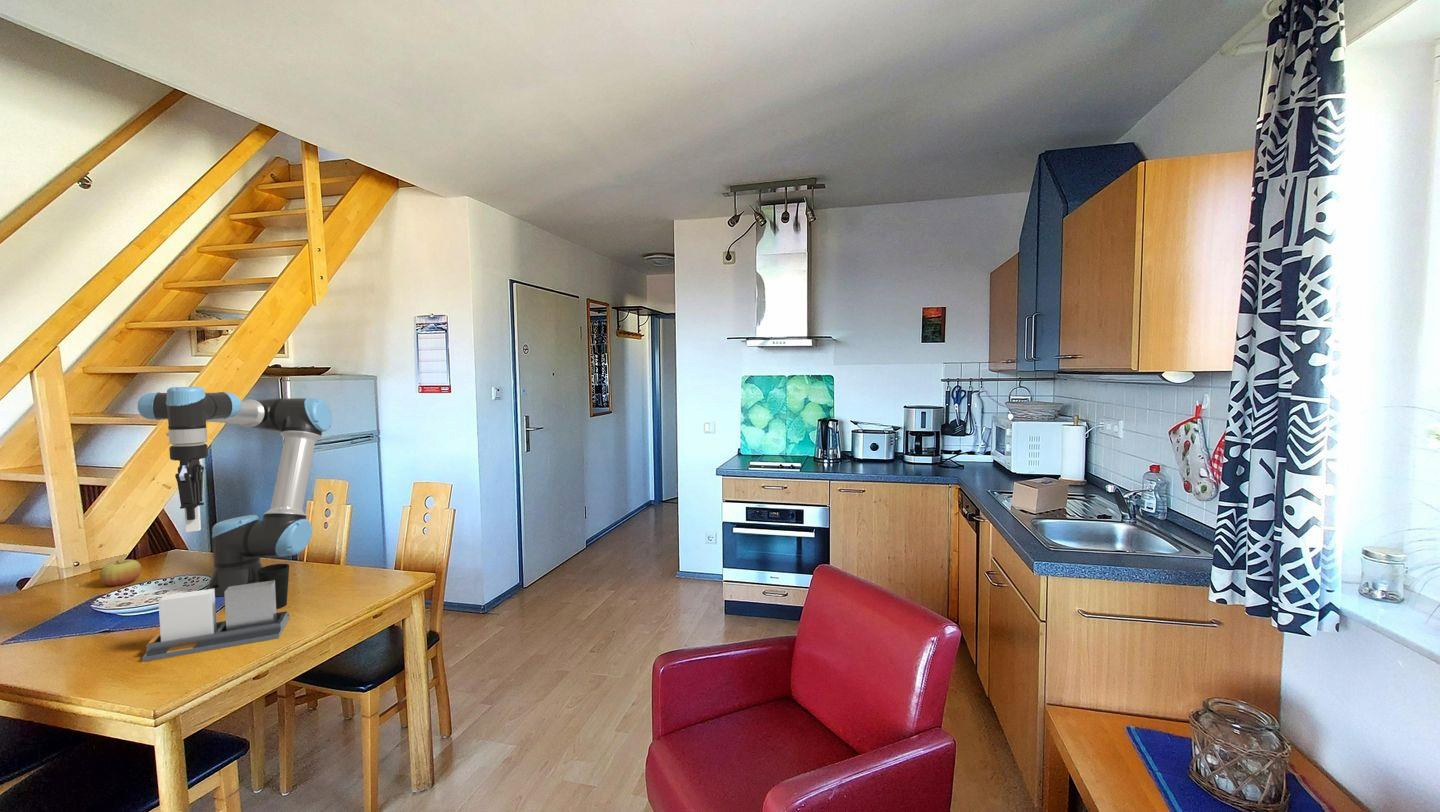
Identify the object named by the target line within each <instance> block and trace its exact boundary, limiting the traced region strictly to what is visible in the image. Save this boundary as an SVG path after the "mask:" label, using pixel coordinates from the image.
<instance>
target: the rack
mask: <svg viewBox="0 0 1440 812" xmlns="http://www.w3.org/2000/svg"><path fill="white" fill-rule="evenodd" d="M224 594H225V596H224V608H225V610H224V611H225V620H222V621H216V625H217V631H216V632H215V633H212V634H206V635H200V636H194V637H188V638H181V639H175V640H169V641H163V642H161V634H160V631H158V633H156V634H155V635H154V636H153V637H152V639H151V640H149V641H148V643H147V644H146V645H145V648H146V650H145V651H146V653H145V654H144V655H143V656H142V657H141V659H142V663H143V662H151V661H155V660H156V661H157V660H162V659H167V658H172V657H177V656H178V657H179V656H184V655H190V654H195V653H201V652H209V651H213V650H217V649H223V648H231V647H236V646H241V645H248V644H252V643H259V642H258V641H260V642H264V640H265V641H270V640H276V639H280V637H281V635H282V633H283V631H284V629H285V627H286V626H287V624H288V622H289V620H290V614H289V613H288V611H287V610H286V611H279V612H277V609H276V592H275V580H274V581H266V582H259V583H252V584H244V585H237V586H230V587H228V588H227V589H226V590H225V592H224Z"/></svg>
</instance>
